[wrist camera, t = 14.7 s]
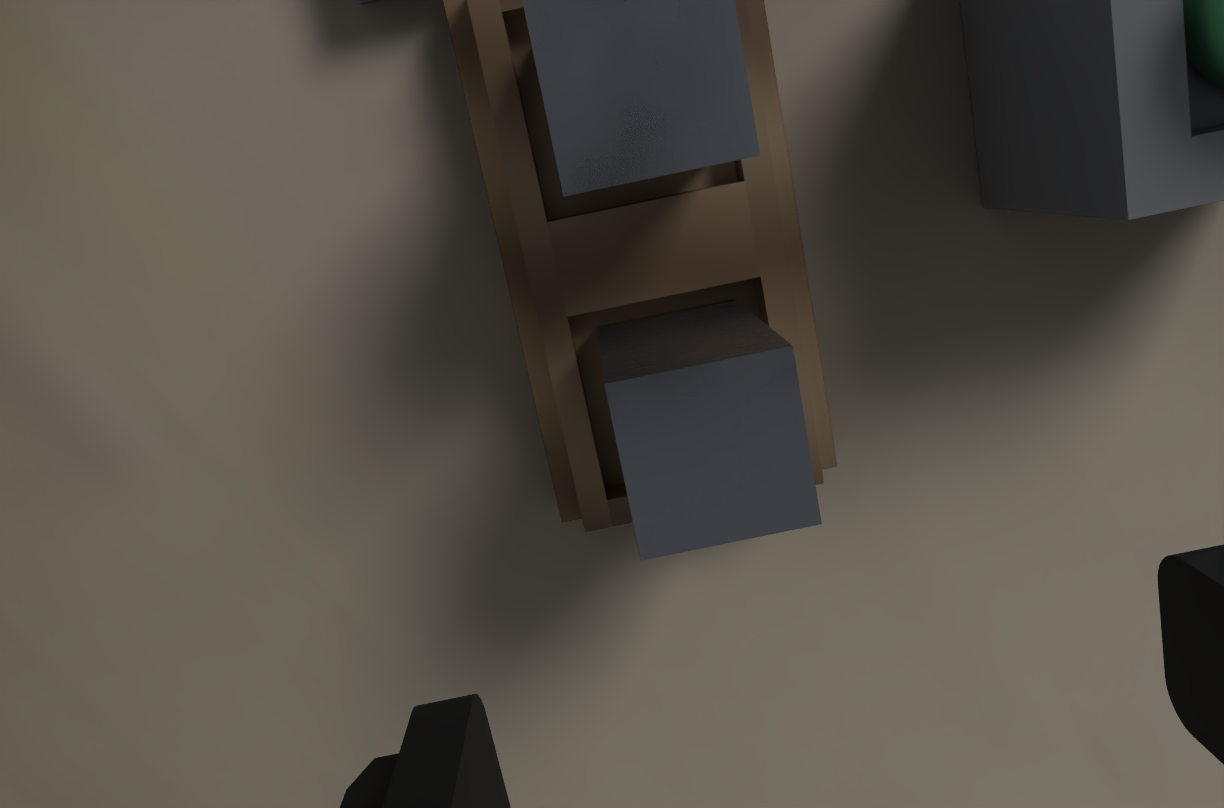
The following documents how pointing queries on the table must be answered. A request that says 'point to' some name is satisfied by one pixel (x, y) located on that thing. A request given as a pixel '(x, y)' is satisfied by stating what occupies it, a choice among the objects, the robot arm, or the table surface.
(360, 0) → the tray
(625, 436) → the block
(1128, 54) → the grey cube holder
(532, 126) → the tray
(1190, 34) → the button
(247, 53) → the table surface
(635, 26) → the seated billet
